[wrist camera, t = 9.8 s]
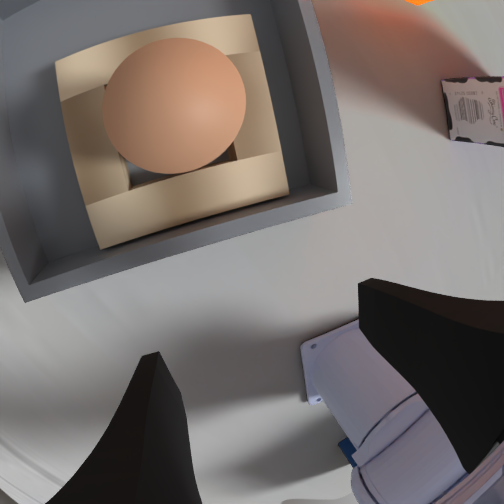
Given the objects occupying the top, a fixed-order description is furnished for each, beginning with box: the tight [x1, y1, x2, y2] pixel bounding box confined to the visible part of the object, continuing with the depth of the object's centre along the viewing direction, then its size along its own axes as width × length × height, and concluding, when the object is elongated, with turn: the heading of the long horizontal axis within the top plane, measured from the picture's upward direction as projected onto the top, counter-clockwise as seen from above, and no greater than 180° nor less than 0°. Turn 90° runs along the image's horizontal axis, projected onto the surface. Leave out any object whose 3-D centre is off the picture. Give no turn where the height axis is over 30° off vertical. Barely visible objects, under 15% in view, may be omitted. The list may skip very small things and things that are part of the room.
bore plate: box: [55, 14, 289, 250], centre depth 13 cm, size 10×10×2 cm
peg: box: [102, 38, 246, 174], centre depth 11 cm, size 4×4×8 cm
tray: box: [0, 0, 352, 303], centre depth 12 cm, size 18×18×4 cm
